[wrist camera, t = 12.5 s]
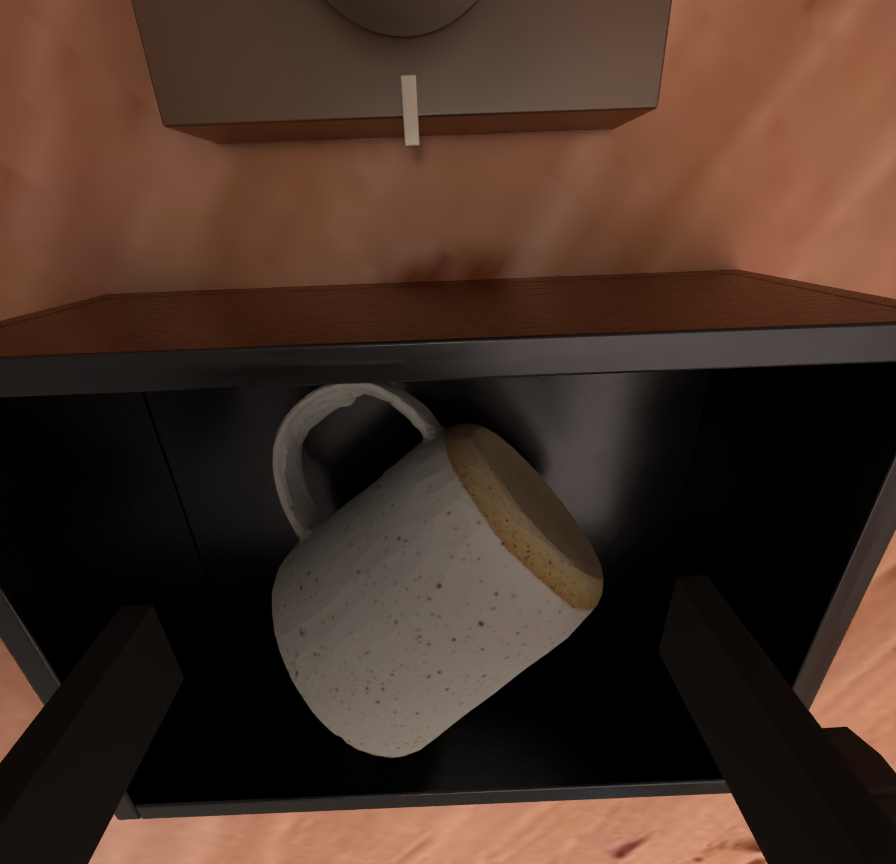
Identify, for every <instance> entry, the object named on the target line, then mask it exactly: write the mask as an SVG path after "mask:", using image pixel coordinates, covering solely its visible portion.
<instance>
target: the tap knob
mask: <svg viewBox="0 0 896 864" xmlns="http://www.w3.org/2000/svg"><path fill="white" fill-rule="evenodd" d="M326 1H327V2H328V3H329V4H330V5H331V6H332V7H333V8H334V9H336V10H337V11H338V12H339V13H341V14H342V15H343V16H345V17H346V18H347V19H349V20H350V21H352V22H354V23H356V24H358V25H359V26H361V27H363V28H366V29H368V30H371V31H373V32H376V33H380V34H385V35H389V36H403V37H407V36H416V35H422V34H425V33H429V32H432V31H435V30H437V29H439V28H441V27H444V26H446V25H448V24H449V23H451V22H452V21H454V20H455V19H457V18H458V17H460V16H461V15H462V14H463V13H464V12H465V11H467V10H468V9H469V8H470V7H471V6H472V5H473V4H474V3H475V2H476V0H326Z"/></svg>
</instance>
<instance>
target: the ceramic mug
mask: <svg viewBox="0 0 896 864" xmlns="http://www.w3.org/2000/svg"><path fill="white" fill-rule="evenodd" d="M363 394H367V395H371V396H374V397H376V398H379V399H381V400H384V401H388V402H389V403H390V404H391V405H392V406H393V407H395V408H396V409H397V410H398V411H400V412H401V413H402V414H403V415H404V416H406V417H407V418H408V419H409V420H410V421H411V422H412V424H413V425H414V427H416V428H417V429H418V430H420V432H421V434H422V436H423V441H422V442H421V443H420V444H418V445H417V446H416V447H415V448H413V449H412V450H411V451H410V452H409V453H408V454H407V455H406V456H404V457H403V458H402V459H400V460H399V461H398V462H397V463H396V464H395V465H393V466H392V467H390V468H389V469H388V470H386V471H385V472H384V473H383V474H382V476H381V477H380V478H379V479H378V480H377V481H375V482H374V483H373V484H372V485H370V486H369V487H368V488H367V489H366V490H364V491H363V492H361V493H360V494H359V495H357V496H356V497H354V498H353V499H352V500H350V501H349V502H348V503H347V504H345V505H344V506H343V507H342V508H340V509H339V510H338V511H337V512H336V513H334V514H333V515H332V516H331V517H330V518H328V519H327V520H326V521H325V520H324V519H323V517H322V516H321V514H320V512H319V510H318V508H317V506H316V505H315V502H314V500H313V499H312V497H311V494H310V492H309V490H308V487H307V484H306V481H305V478H304V474H303V471H302V457H301V454H302V445H303V441H304V439H305V438H306V436H307V435H308V432H309V430H310V429H311V428H312V427H314V426H315V425H316V424H318V423H319V422H320V421H321V420H322V419H324V418H325V417H326V416H327V415H328V414H330V413H331V412H333V411H334V410H336V409H338V408H339V407H348V406H350V405H352V404H353V402H354V401H355V400H356V397H359V396H361V395H363ZM273 474H274V480H275V485H276V489H277V493H278V496H279V499H280V502H281V505H282V507H283V510H284V512H285V514H286V516H287V518H288V520H289V522H290V524H291V525H292V527H293V529H294V531H295V533H296V534H297V536H298V537H299V539H300V541H299V543H298V544H297V545H296V546H295V547H294V548H293V549H292V550H291V552H290V553H289V554H288V555H287V557H286V558H285V560H284V561H283V563H282V564H281V565H280V567H279V570H278V573H277V576H276V579H275V583H274V586H273V590H272V616H273V625H274V632H275V636H276V639H277V643H278V647H279V651H280V654H281V656H282V658H283V661H284V663H285V666H286V668H287V670H288V673H289V675H290V677H291V679H292V681H293V683H294V684H295V686H296V688H297V689H298V691H299V693H300V694H301V696H302V697H303V699H304V700H305V702H306V703H307V705H308V706H309V708H310V709H311V711H312V712H313V713H314V714H315V715H316V717H317V718H318V719H319V720H320V721H321V722H322V723H323V724H324V725H325V726H326V727H327V728H328V729H329V730H330V731H332V732H333V733H334V734H335V735H337V736H340V737H342V738H343V740H344V741H345V742H346V743H347V744H349V745H351V746H353V747H354V748H356V749H358V750H361V751H364V752H367V753H369V754H372V755H376V756H383V757H390V758H394V757H401V756H405V755H408V754H411V753H413V752H416V751H419V750H421V749H422V748H423V747H425V746H426V745H427V744H429V743H430V742H431V741H433V740H434V739H435V738H437V737H438V736H439V735H440V734H442V733H443V732H444V731H445V730H447V729H448V728H449V727H450V726H451V725H453V724H454V723H455V722H457V721H458V720H459V719H460V718H462V717H463V716H464V715H466V714H467V713H468V712H470V711H471V710H472V709H474V708H475V707H477V706H478V705H479V704H481V703H482V702H483V701H485V700H486V699H488V698H489V697H490V696H492V695H493V694H494V693H496V692H497V691H498V690H499V689H501V688H502V687H503V686H504V685H506V684H507V683H508V682H509V681H511V680H512V679H513V678H514V677H516V676H517V675H518V674H519V673H521V672H522V671H523V670H525V669H526V668H527V667H529V666H530V665H532V664H533V663H534V662H536V661H537V660H539V659H540V658H541V657H543V656H544V655H546V654H547V653H549V652H550V651H551V650H552V649H554V648H555V647H556V646H558V645H559V644H560V643H562V642H563V641H564V640H565V639H567V638H568V637H569V636H570V635H571V634H572V633H573V632H574V630H575V629H576V628H577V627H578V626H579V625H580V624H581V623H582V622H583V621H584V620H585V618H586V617H587V616H588V615H589V614H590V613H591V612H592V611H593V609H594V608H595V607H596V606H597V605H598V602H599V600H600V598H601V595H602V590H603V573H602V568H601V565H600V563H599V560H598V558H597V556H596V554H595V552H594V550H593V548H592V546H591V544H590V542H589V540H588V539H587V537H586V536H585V534H584V532H583V531H582V529H581V528H580V526H579V525H578V523H577V522H576V521H575V519H574V518H573V516H572V515H571V514H570V512H569V511H568V510H567V508H566V507H565V506H564V504H563V503H562V502H561V500H560V499H559V498H558V496H557V495H556V494H555V493H554V492H553V490H552V489H551V488H550V487H549V486H548V484H547V483H546V482H545V481H544V480H543V479H542V477H541V476H540V475H539V474H538V473H537V472H536V471H535V469H534V468H533V467H532V466H531V465H530V464H529V463H528V462H527V461H526V460H525V459H524V458H523V457H522V456H521V455H520V454H519V453H518V452H517V451H516V450H515V449H514V448H513V447H512V446H510V445H509V444H508V443H507V442H506V441H504V440H503V439H502V438H501V437H500V436H498V435H497V434H495V433H494V432H492V431H491V430H489V429H487V428H486V427H483V426H481V425H478V424H470V423H459V424H455V425H453V426H450V427H448V428H446V427H442V426H441V425H440V423H439V422H438V421H437V419H436V418H435V417H434V416H433V414H432V412H431V411H430V410H429V409H428V408H427V407H426V406H425V405H424V404H423V403H421V402H420V401H419V400H417V399H416V398H414V397H413V396H412V395H410V394H409V393H408V392H406V391H405V390H403V389H402V388H400V387H398V386H395V385H393V384H390V383H388V382H385V383H360V384H335V385H323V386H320V387H318V388H317V389H315V390H313V391H312V392H310V393H309V394H307V395H306V396H305V397H304V398H302V399H301V400H300V401H299V402H298V403H296V404H295V405H294V406H293V407H292V408H291V410H290V411H289V412H288V414H287V415H286V416H285V418H284V419H283V420H282V422H281V424H280V426H279V428H278V430H277V433H276V436H275V440H274V446H273Z"/></svg>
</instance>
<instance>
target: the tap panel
mask: <svg viewBox="0 0 896 864" xmlns="http://www.w3.org/2000/svg"><path fill="white" fill-rule="evenodd" d="M131 1H132V5H133V9H134V13H135V17H136V21H137V25H138V29H139V33H140V36H141V40H142V44H143V48H144V52H145V56H146V60H147V64H148V68H149V72H150V76H151V80H152V84H153V88H154V91H155V95H156V99H157V103H158V107H159V111H160V115H161V119H162V123H163V125H164V126H165V127H167V128H171V129H174V130H177V131H180V132H183V133H186V134H189V135H193V136H196V137H199V138H202V139H205V140H208V141H212V142H215V143H241V142H268V141H295V140H322V139H348V138H375V137H402V136H404V138H405V146H406V147H412V146H420V139H419V136H429V135H456V134H482V133H509V132H536V131H563V130H590V129H614V128H616V127H618V126H620V125H622V124H624V123H627V122H629V121H631V120H633V119H635V118H637V117H639V116H641V115H643V114H645V113H647V112H650V111H652V110H654V109H656V108H657V106H658V100H659V92H660V85H661V78H662V70H663V63H664V55H665V48H666V41H667V33H668V26H669V19H670V11H671V4H672V0H476V2H475V3H474V4H473V5H472V6H471V7H470V8H469V9H468V10H467V11H465V12H464V13H463V14H462V15H461V16H460V17H458V18H457V19H455V20H454V21H452V22H451V23H449V24H448V25H446V26H444V27H441V28H439V29H437V30H435V31H432V32H429V33H425V34H422V35H416V36H407V37H403V36H389V35H385V34H380V33H376V32H373V31H371V30H368V29H366V28H363V27H361V26H359V25H358V24H356V23H354V22H352V21H350V20H349V19H347V18H346V17H345V16H343V15H342V14H341V13H339V12H338V11H337V10H336V9H334V8H333V7H332V6H331V5H330V4H329V3H328V2H327V1H326V0H131Z"/></svg>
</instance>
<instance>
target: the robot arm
mask: <svg viewBox="0 0 896 864" xmlns="http://www.w3.org/2000/svg"><path fill="white" fill-rule="evenodd" d="M658 652H659V654H660V656H661V658H662V660H663V662H664V663H665V665H666V667H667V669H668V671H669V673H670V675H671V677H672V679H673V681H674V683H675V685H676V687H677V689H678V691H679V693H680V695H681V696H682V698H683V700H684V702H685V704H686V706H687V708H688V710H689V712H690V714H691V716H692V718H693V720H694V722H695V724H696V726H697V727H698V729H699V731H700V733H701V735H702V737H703V739H704V741H705V743H706V745H707V747H708V749H709V751H710V753H711V755H712V757H713V759H714V760H715V762H716V764H717V766H718V768H719V770H720V772H721V774H722V776H723V778H724V780H725V782H726V784H727V786H728V788H729V790H730V791H731V793H732V795H733V797H734V799H735V801H736V803H737V805H738V807H739V809H740V811H741V813H742V815H743V817H744V819H745V821H746V823H747V824H748V826H749V828H750V830H751V832H752V834H753V836H754V838H755V840H756V842H757V844H758V846H759V848H760V850H761V852H762V854H763V855H764V857H765V859H766V861H767V863H768V864H896V773H895V771H894V770H893V769H892V768H891V767H890V765H889V764H888V763H887V762H886V761H885V759H884V758H883V757H882V756H881V755H880V754H879V753H878V752H877V751H876V750H874V749H873V748H872V747H871V746H870V745H868V744H867V743H866V742H865V741H863V740H862V739H861V738H860V737H859V736H857V735H856V734H855V733H854V732H852V731H851V730H850V729H849V728H848V727H835V728H821V726H820V725H819V724H818V722H817V721H816V720H815V718H814V717H813V716H812V714H811V713H810V712H809V710H808V709H807V708H806V706H805V705H804V704H803V702H802V701H801V700H800V698H799V697H798V696H797V694H796V693H795V692H794V690H793V689H792V688H791V687H790V685H789V684H788V683H787V681H786V680H785V679H784V677H783V676H782V675H781V673H780V672H779V671H778V669H777V668H776V667H775V665H774V664H773V663H772V661H771V660H770V659H769V657H768V656H767V655H766V653H765V652H764V651H763V649H762V648H761V647H760V645H759V644H758V643H757V641H756V640H755V639H754V637H753V636H752V635H751V633H750V632H749V631H748V629H747V628H746V627H745V625H744V624H743V623H742V622H741V620H740V619H739V618H738V616H737V615H736V614H735V612H734V611H733V610H732V608H731V607H730V606H729V604H728V603H727V602H726V600H725V599H724V598H723V596H722V595H721V594H720V592H719V591H718V590H717V588H716V587H715V586H714V584H713V583H712V582H711V580H710V579H709V578H708V576H707V575H698V576H680V577H676V581H675V585H674V589H673V593H672V597H671V601H670V605H669V609H668V614H667V618H666V622H665V626H664V630H663V634H662V638H661V642H660V646H659V650H658ZM184 678H185V677H184V675H183V673H182V670H181V668H180V666H179V664H178V661H177V659H176V657H175V654H174V652H173V650H172V648H171V645H170V643H169V641H168V638H167V636H166V634H165V632H164V629H163V627H162V625H161V622H160V620H159V618H158V616H157V613H156V611H155V609H154V606H153V604H151V605H133V606H121V607H120V609H119V610H118V611H117V612H116V614H115V615H114V616H113V618H112V619H111V620H110V622H109V623H108V624H107V625H106V627H105V628H104V629H103V631H102V632H101V633H100V634H99V636H98V637H97V638H96V640H95V641H94V642H93V644H92V645H91V646H90V647H89V649H88V650H87V651H86V653H85V654H84V655H83V657H82V658H81V659H80V660H79V662H78V663H77V664H76V666H75V667H74V668H73V669H72V671H71V672H70V673H69V675H68V676H67V677H66V679H65V680H64V681H63V682H62V684H61V685H60V686H59V688H58V689H57V690H56V692H55V693H54V694H53V695H52V697H51V698H50V699H49V701H48V702H47V703H46V704H45V706H44V707H43V708H42V710H41V711H40V712H39V714H38V715H37V716H36V717H35V719H34V720H33V721H32V723H31V724H30V725H29V727H28V728H27V729H26V730H25V732H24V733H23V734H22V736H21V737H20V738H19V739H18V741H17V742H16V743H15V745H14V746H13V747H12V749H11V750H10V751H9V752H8V754H7V755H6V756H5V758H4V759H3V760H2V762H1V763H0V864H88V863H89V861H90V859H91V857H92V855H93V853H94V851H95V849H96V848H97V846H98V844H99V842H100V840H101V838H102V836H103V834H104V832H105V830H106V828H107V826H108V824H109V822H110V821H111V819H112V817H113V815H114V813H115V811H116V809H117V807H118V805H119V803H120V801H121V799H122V797H123V796H124V794H125V792H126V790H127V788H128V786H129V784H130V782H131V780H132V778H133V776H134V774H135V772H136V771H137V769H138V767H139V765H140V763H141V761H142V759H143V757H144V755H145V753H146V751H147V749H148V747H149V745H150V744H151V742H152V740H153V738H154V736H155V734H156V732H157V730H158V728H159V726H160V724H161V722H162V720H163V719H164V717H165V715H166V713H167V711H168V709H169V707H170V705H171V703H172V701H173V699H174V697H175V695H176V694H177V692H178V690H179V688H180V686H181V684H182V682H183V680H184Z"/></svg>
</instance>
